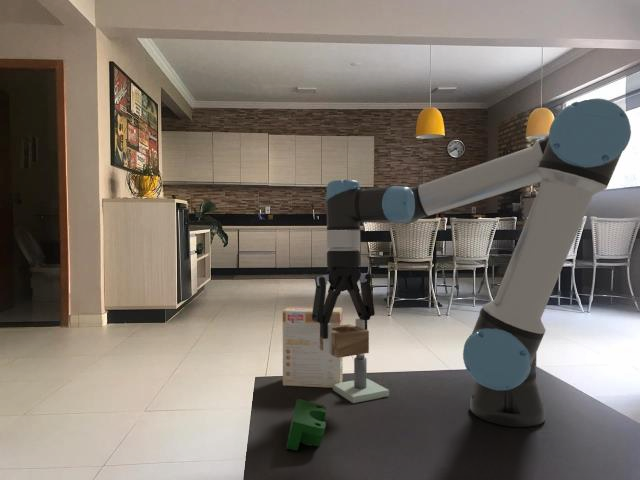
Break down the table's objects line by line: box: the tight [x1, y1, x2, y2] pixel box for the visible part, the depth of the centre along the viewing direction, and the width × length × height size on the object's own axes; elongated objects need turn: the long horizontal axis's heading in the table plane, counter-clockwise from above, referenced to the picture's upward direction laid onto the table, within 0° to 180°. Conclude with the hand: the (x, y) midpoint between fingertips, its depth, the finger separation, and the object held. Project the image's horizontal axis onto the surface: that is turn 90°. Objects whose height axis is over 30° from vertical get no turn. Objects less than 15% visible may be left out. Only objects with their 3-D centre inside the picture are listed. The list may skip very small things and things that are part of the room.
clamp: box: [285, 398, 327, 452], centre depth 89 cm, size 12×6×9 cm, turn 173°
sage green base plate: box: [332, 354, 390, 404], centre depth 114 cm, size 10×10×10 cm
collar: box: [320, 323, 370, 358], centre depth 105 cm, size 8×8×5 cm
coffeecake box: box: [282, 306, 344, 389], centre depth 122 cm, size 15×7×20 cm, turn 82°
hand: (344, 350), depth 105 cm, fingers closed on collar, 8 cm apart
